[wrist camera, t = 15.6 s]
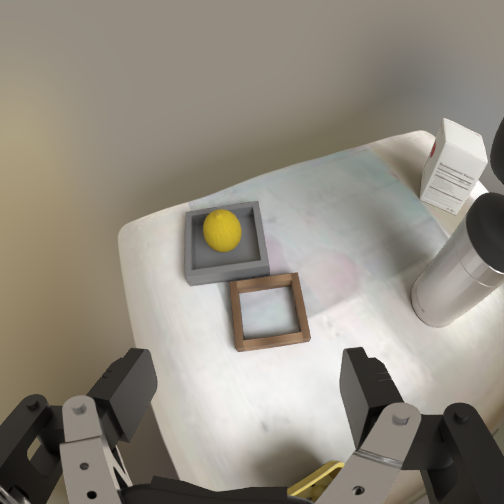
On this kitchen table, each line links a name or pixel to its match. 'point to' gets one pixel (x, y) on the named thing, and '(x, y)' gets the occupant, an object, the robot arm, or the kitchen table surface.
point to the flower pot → (316, 481)
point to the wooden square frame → (266, 284)
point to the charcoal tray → (232, 262)
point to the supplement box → (452, 167)
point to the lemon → (222, 230)
